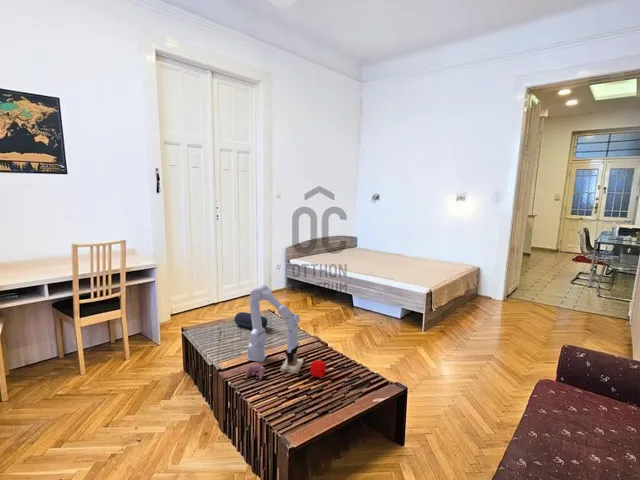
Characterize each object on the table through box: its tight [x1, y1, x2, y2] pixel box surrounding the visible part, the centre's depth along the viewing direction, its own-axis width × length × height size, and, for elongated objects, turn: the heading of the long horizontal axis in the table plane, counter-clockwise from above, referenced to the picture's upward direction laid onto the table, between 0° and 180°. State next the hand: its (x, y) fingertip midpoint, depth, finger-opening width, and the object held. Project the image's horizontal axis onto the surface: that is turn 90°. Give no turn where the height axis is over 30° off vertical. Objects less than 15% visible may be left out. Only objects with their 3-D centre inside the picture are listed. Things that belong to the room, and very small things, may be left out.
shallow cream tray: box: [280, 357, 304, 374], centre depth 193 cm, size 10×12×2 cm
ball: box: [309, 359, 327, 378], centre depth 184 cm, size 8×8×8 cm
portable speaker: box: [234, 311, 268, 330], centre depth 243 cm, size 25×10×10 cm, turn 66°
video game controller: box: [245, 363, 266, 381], centre depth 182 cm, size 10×5×7 cm, turn 72°
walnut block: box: [286, 353, 298, 366], centre depth 192 cm, size 4×4×5 cm
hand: (292, 358), depth 192 cm, fingers open, 7 cm apart
